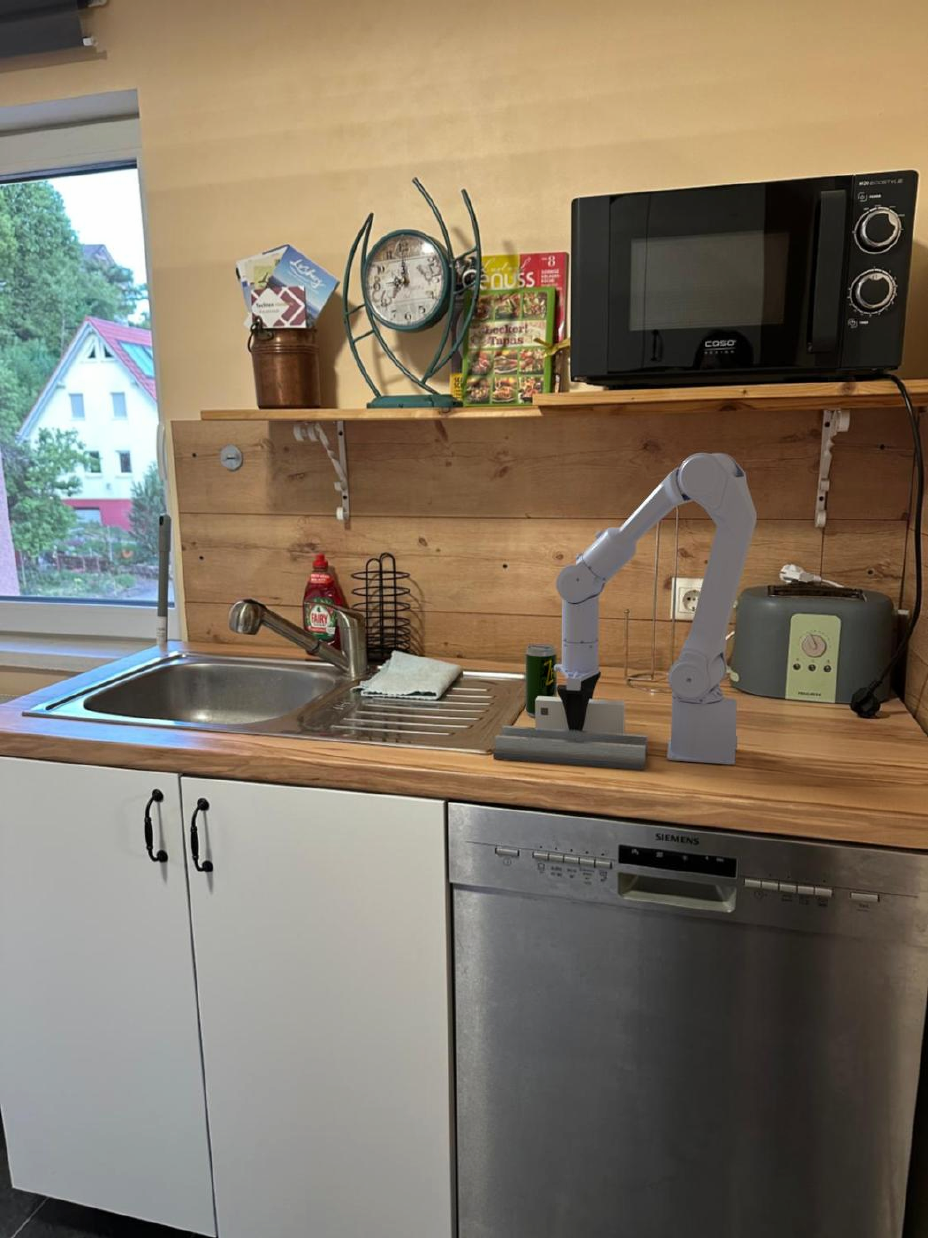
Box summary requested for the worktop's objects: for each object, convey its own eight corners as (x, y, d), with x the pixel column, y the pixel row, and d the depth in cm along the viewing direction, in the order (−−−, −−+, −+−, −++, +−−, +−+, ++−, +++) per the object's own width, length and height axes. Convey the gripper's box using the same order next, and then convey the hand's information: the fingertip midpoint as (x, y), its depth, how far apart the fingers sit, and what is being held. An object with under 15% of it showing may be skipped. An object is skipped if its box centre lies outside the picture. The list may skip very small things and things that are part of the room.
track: (647, 751, 126) (647, 732, 125) (644, 770, 118) (644, 750, 118) (505, 741, 131) (504, 723, 131) (493, 758, 124) (493, 739, 123)
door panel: (624, 737, 133) (625, 700, 132) (623, 742, 131) (623, 705, 130) (538, 731, 137) (538, 695, 136) (535, 735, 134) (535, 700, 133)
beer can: (520, 716, 144) (520, 648, 142) (533, 708, 149) (533, 642, 147) (549, 720, 142) (549, 651, 140) (561, 712, 146) (561, 645, 144)
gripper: (561, 629, 139) (561, 707, 141) (546, 648, 125) (546, 734, 128) (604, 631, 137) (603, 710, 139) (594, 650, 123) (592, 738, 126)
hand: (579, 722), depth 133 cm, fingers open, 7 cm apart
